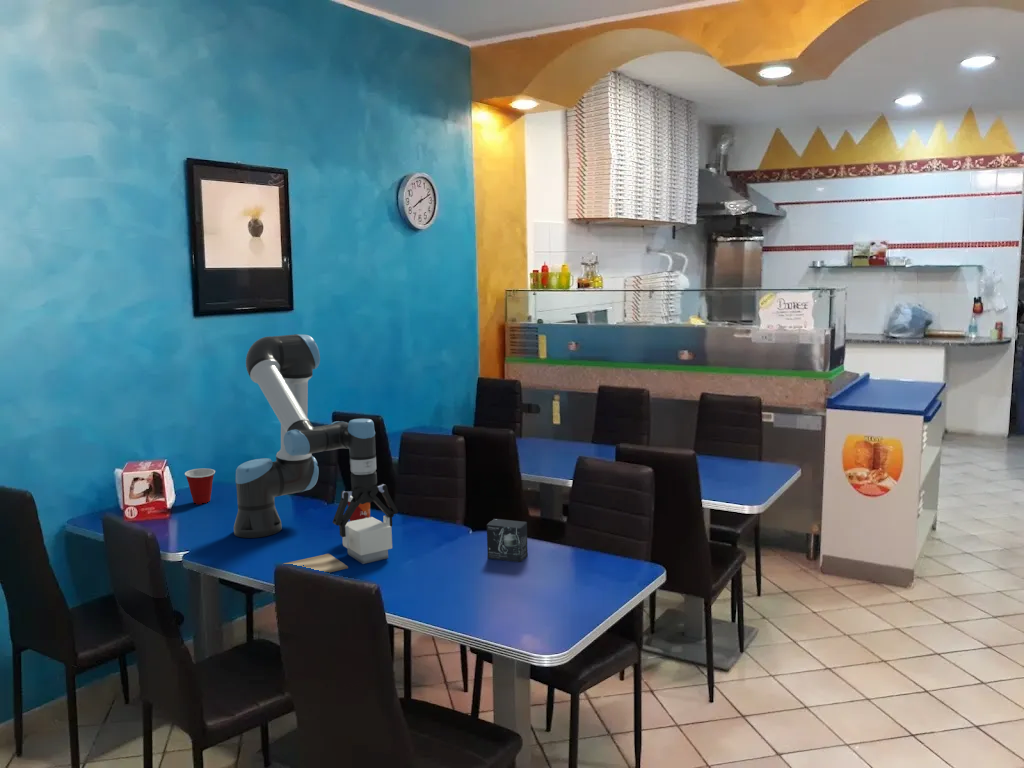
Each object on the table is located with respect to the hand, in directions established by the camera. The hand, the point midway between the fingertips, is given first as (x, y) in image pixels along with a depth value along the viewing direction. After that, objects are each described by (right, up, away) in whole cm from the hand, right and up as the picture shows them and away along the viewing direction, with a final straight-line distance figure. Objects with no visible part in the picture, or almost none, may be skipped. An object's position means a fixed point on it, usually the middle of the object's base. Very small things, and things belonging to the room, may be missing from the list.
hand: (367, 542), depth 246 cm
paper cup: (-5, -2, +19) cm, 20 cm away
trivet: (-14, -6, -8) cm, 17 cm away
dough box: (0, -4, +1) cm, 4 cm away
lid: (0, -1, 0) cm, 1 cm away
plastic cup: (-74, +2, +66) cm, 99 cm away
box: (+42, -4, -3) cm, 42 cm away
